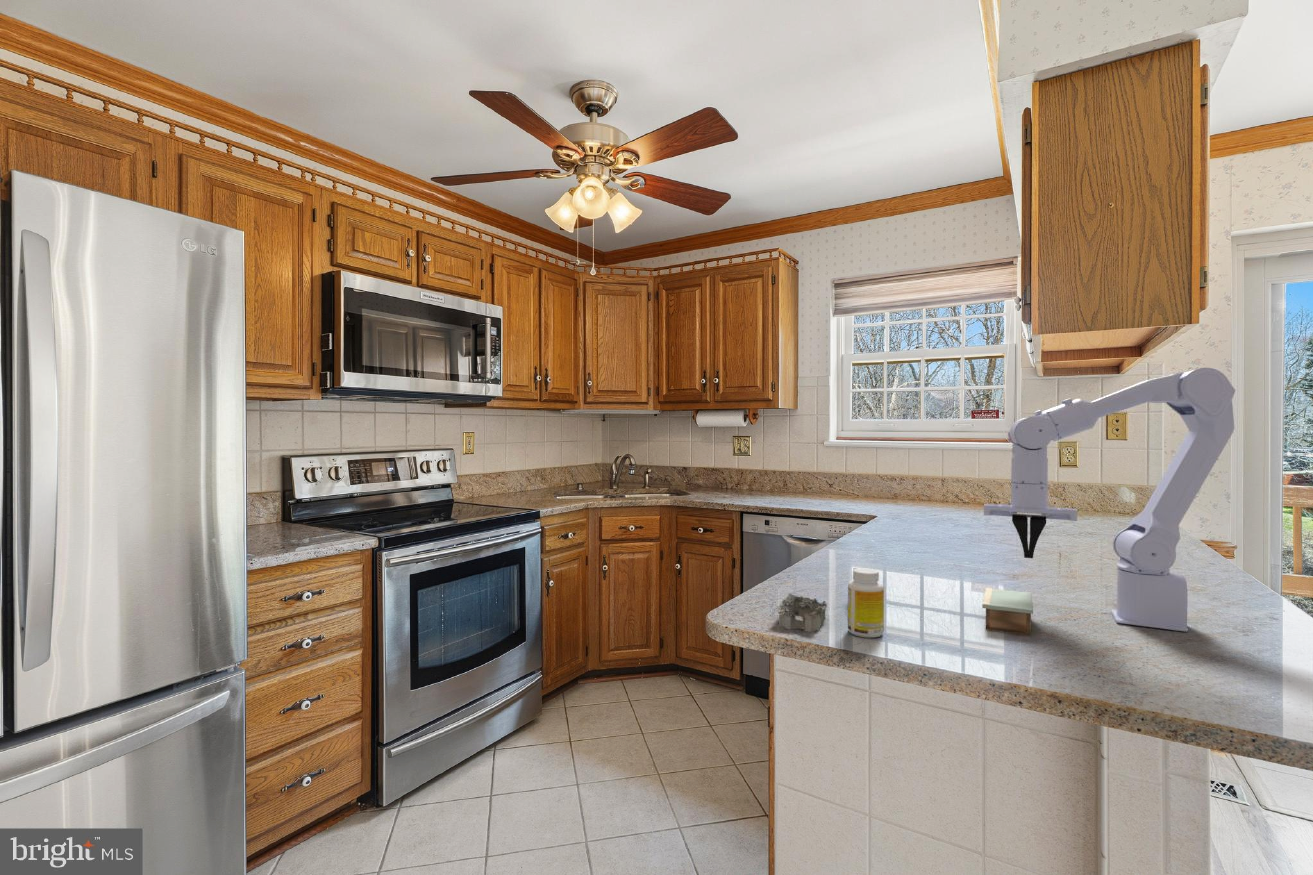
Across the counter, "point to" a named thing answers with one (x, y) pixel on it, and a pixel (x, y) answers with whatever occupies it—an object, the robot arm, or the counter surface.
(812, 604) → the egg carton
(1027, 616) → the box
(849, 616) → the supplement bottle
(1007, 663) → the counter surface
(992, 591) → the lid
